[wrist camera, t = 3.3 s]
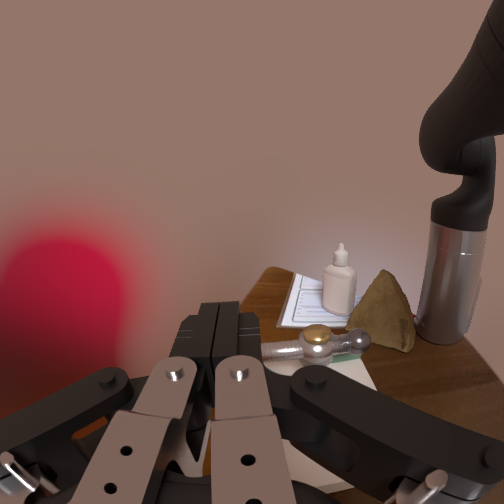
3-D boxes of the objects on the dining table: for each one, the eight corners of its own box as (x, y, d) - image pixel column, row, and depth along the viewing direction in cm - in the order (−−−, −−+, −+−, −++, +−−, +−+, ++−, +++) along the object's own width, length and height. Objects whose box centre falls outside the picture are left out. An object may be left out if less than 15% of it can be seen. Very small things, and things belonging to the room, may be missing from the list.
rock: (435, 334, 32) (403, 296, 41) (423, 302, 28) (386, 264, 37) (376, 380, 34) (352, 336, 43) (353, 356, 31) (328, 309, 40)
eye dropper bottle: (334, 320, 43) (338, 250, 40) (319, 305, 49) (321, 241, 45) (356, 314, 44) (362, 247, 41) (340, 300, 49) (343, 238, 46)
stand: (352, 362, 33) (356, 332, 32) (401, 472, 16) (420, 447, 14) (245, 374, 33) (242, 344, 32) (247, 502, 16) (242, 483, 14)
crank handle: (358, 362, 26) (366, 315, 25) (368, 381, 23) (379, 333, 22) (215, 376, 26) (206, 329, 25) (212, 398, 23) (201, 350, 22)
